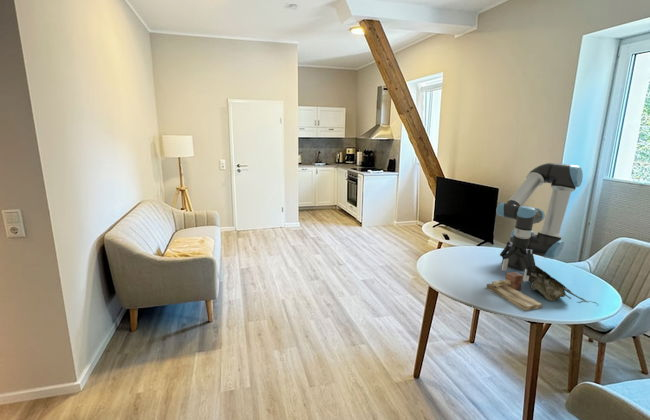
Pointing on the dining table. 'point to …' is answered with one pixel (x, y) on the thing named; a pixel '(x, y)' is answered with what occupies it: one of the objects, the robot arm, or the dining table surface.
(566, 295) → the dry twig
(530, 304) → the board
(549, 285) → the hollow geode rock
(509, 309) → the dining table surface
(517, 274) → the brown block with handle
